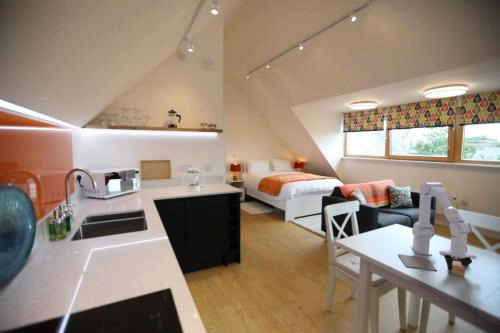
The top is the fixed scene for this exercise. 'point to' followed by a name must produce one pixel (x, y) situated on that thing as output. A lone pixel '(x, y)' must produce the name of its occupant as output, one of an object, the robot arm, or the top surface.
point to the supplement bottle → (458, 257)
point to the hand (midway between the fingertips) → (455, 270)
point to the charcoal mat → (417, 262)
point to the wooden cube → (457, 269)
